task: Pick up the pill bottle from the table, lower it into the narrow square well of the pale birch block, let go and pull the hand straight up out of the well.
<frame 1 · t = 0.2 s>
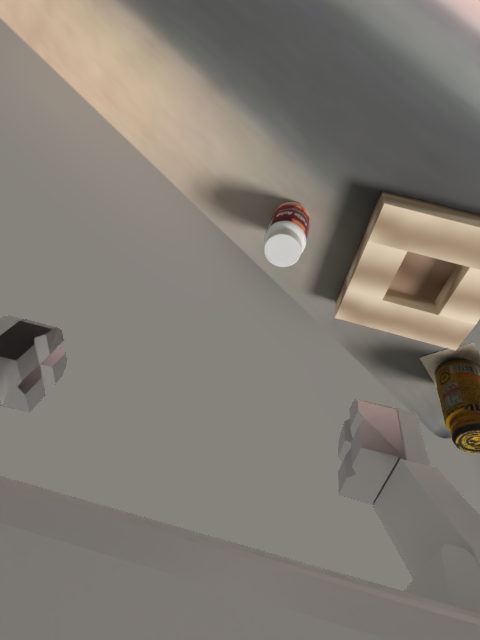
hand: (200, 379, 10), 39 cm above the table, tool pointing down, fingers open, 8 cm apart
well block: (419, 268, 48), on the table
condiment: (455, 367, 56), on the table
pill bottle: (291, 218, 48), on the table
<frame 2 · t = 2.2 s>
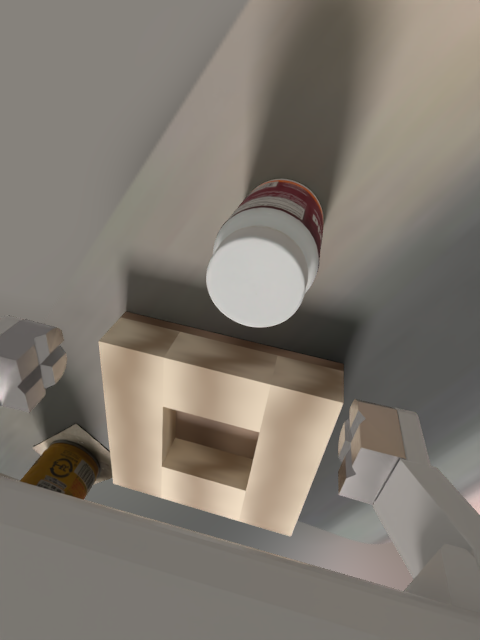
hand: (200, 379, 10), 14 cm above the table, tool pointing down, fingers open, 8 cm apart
well block: (220, 413, 32), on the table
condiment: (81, 455, 40), on the table
pill bottle: (282, 218, 22), on the table
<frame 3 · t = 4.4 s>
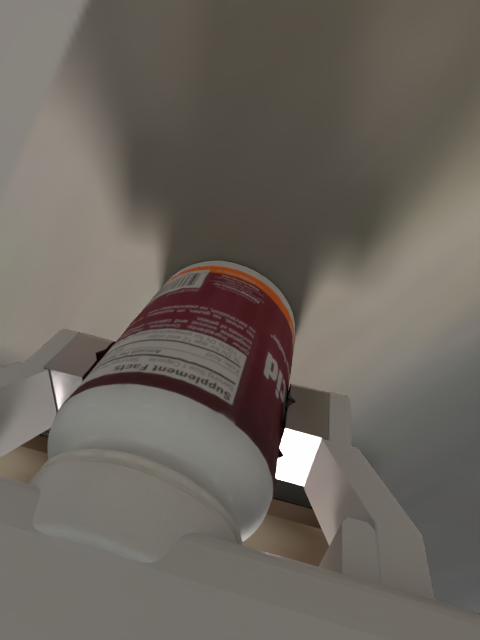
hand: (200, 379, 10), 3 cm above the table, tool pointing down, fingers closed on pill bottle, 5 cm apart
well block: (162, 551, 23), on the table
pill bottle: (227, 318, 13), on the table, touching gripper
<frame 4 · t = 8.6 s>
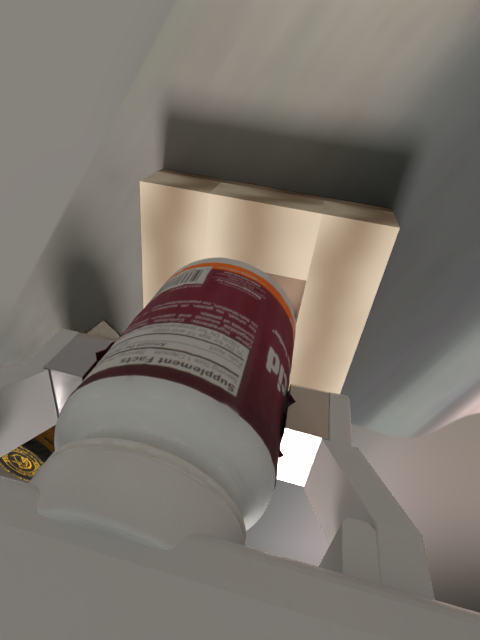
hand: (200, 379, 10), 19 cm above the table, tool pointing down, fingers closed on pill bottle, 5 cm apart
well block: (257, 289, 31), on the table
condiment: (107, 362, 39), on the table
pill bottle: (229, 315, 13), point 16 cm above the table, touching gripper
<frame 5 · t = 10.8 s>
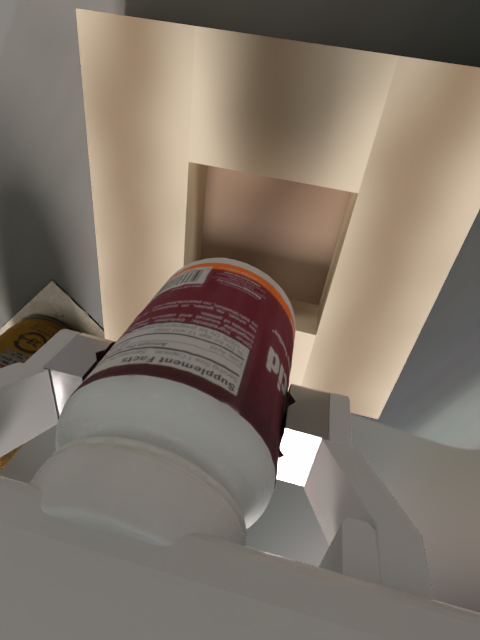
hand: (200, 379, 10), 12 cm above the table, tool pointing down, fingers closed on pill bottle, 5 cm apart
well block: (270, 228, 21), on the table
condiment: (62, 342, 29), on the table
pill bottle: (229, 315, 13), point 9 cm above the table, touching gripper
when the fingers open (5 cm above the table, at t = 12.9 s): pill bottle stays where it is, resting on well block.
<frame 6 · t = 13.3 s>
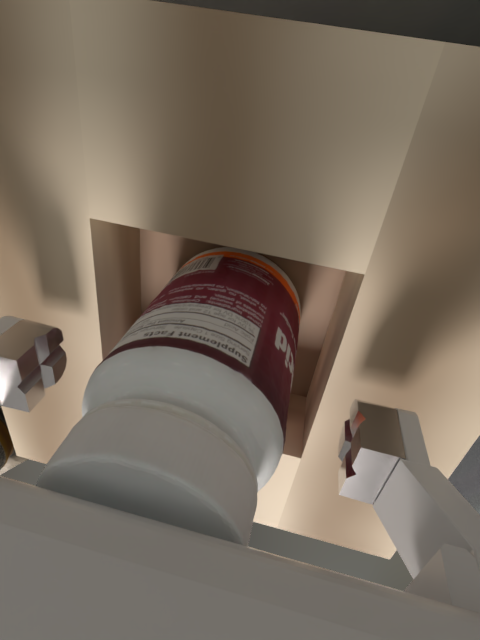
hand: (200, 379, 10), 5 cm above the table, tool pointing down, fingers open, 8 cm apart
well block: (236, 294, 15), on the table
pill bottle: (237, 302, 14), point 1 cm above the table, touching well block
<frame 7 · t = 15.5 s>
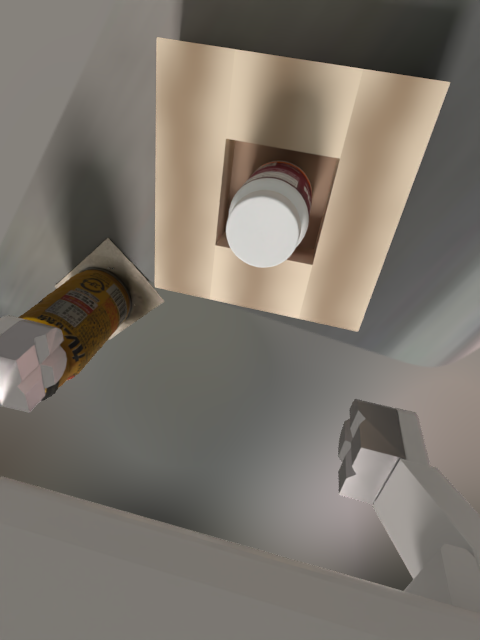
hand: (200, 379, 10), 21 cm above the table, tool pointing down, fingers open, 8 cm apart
well block: (278, 191, 28), on the table
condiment: (110, 291, 36), on the table
pill bottle: (279, 193, 28), point 1 cm above the table, touching well block
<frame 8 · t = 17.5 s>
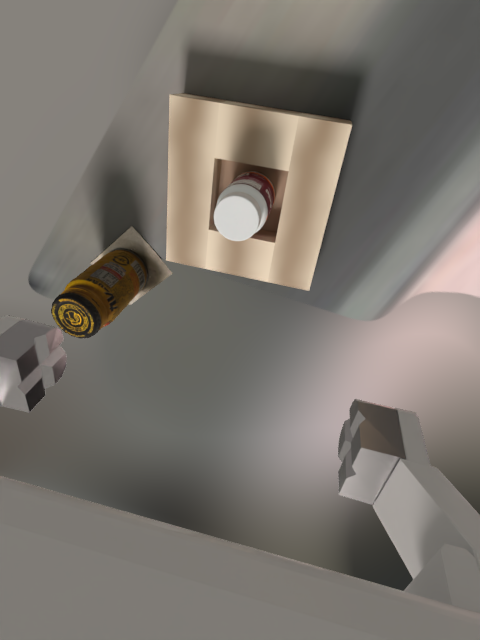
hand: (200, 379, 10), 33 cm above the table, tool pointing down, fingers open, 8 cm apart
well block: (253, 192, 40), on the table
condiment: (132, 266, 49), on the table
pill bottle: (253, 193, 40), point 1 cm above the table, touching well block
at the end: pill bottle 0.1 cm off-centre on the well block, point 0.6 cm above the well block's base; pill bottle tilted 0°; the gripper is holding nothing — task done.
